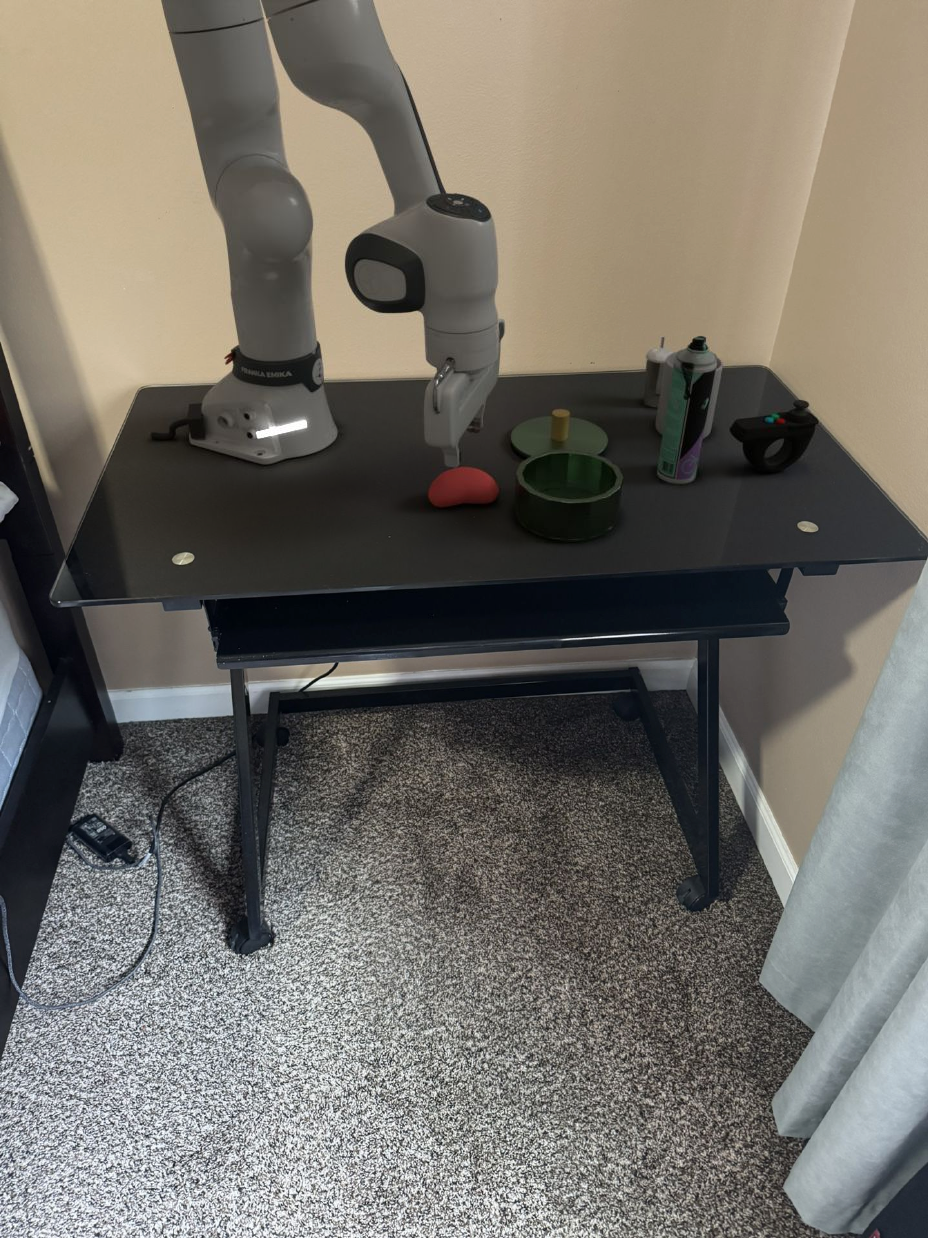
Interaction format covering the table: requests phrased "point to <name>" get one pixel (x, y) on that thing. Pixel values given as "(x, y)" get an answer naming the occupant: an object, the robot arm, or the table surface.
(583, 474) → the tin
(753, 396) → the table surface
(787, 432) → the controller
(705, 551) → the table surface
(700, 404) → the spray can
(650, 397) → the milkshake
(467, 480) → the red bean shape
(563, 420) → the tin lid
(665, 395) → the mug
